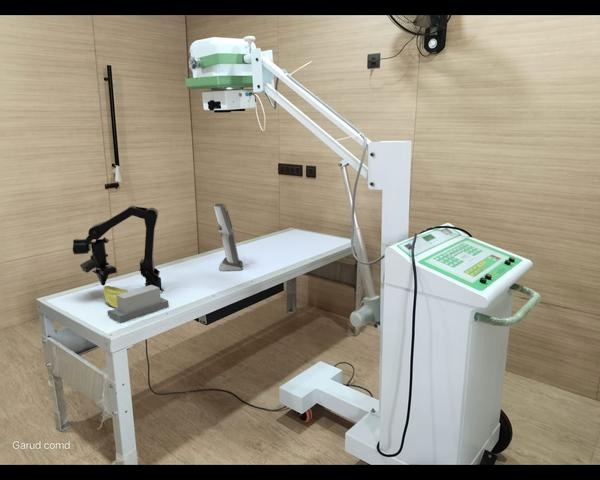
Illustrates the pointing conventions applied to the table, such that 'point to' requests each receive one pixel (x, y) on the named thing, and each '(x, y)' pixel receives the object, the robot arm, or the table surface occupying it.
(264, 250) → the table surface
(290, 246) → the table surface
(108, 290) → the yellow long curved piece
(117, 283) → the table surface
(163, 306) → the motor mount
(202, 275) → the table surface
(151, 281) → the robot arm
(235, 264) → the grey tall upright piece
